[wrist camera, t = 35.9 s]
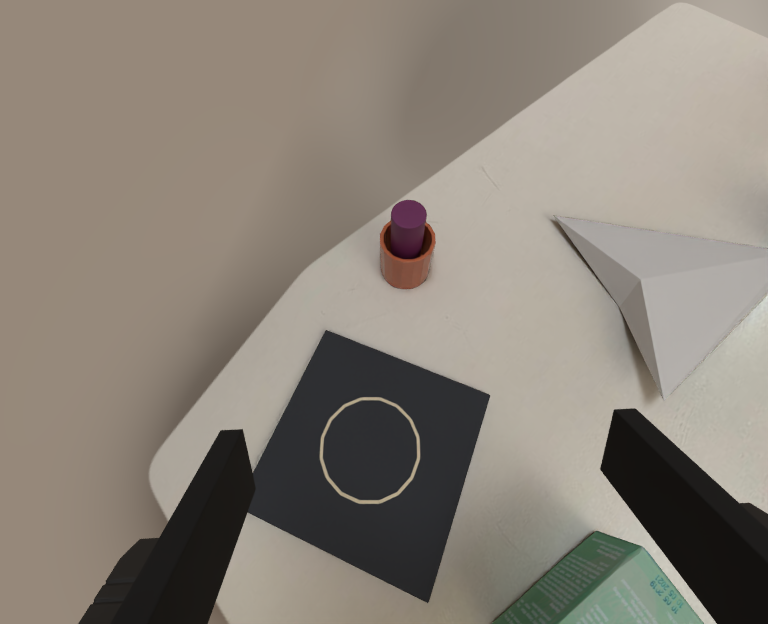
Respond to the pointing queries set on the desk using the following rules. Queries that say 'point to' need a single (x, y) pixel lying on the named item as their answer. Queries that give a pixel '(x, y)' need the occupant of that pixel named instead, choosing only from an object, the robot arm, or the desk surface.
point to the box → (602, 589)
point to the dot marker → (407, 229)
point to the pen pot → (406, 261)
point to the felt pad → (371, 462)
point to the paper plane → (673, 290)
